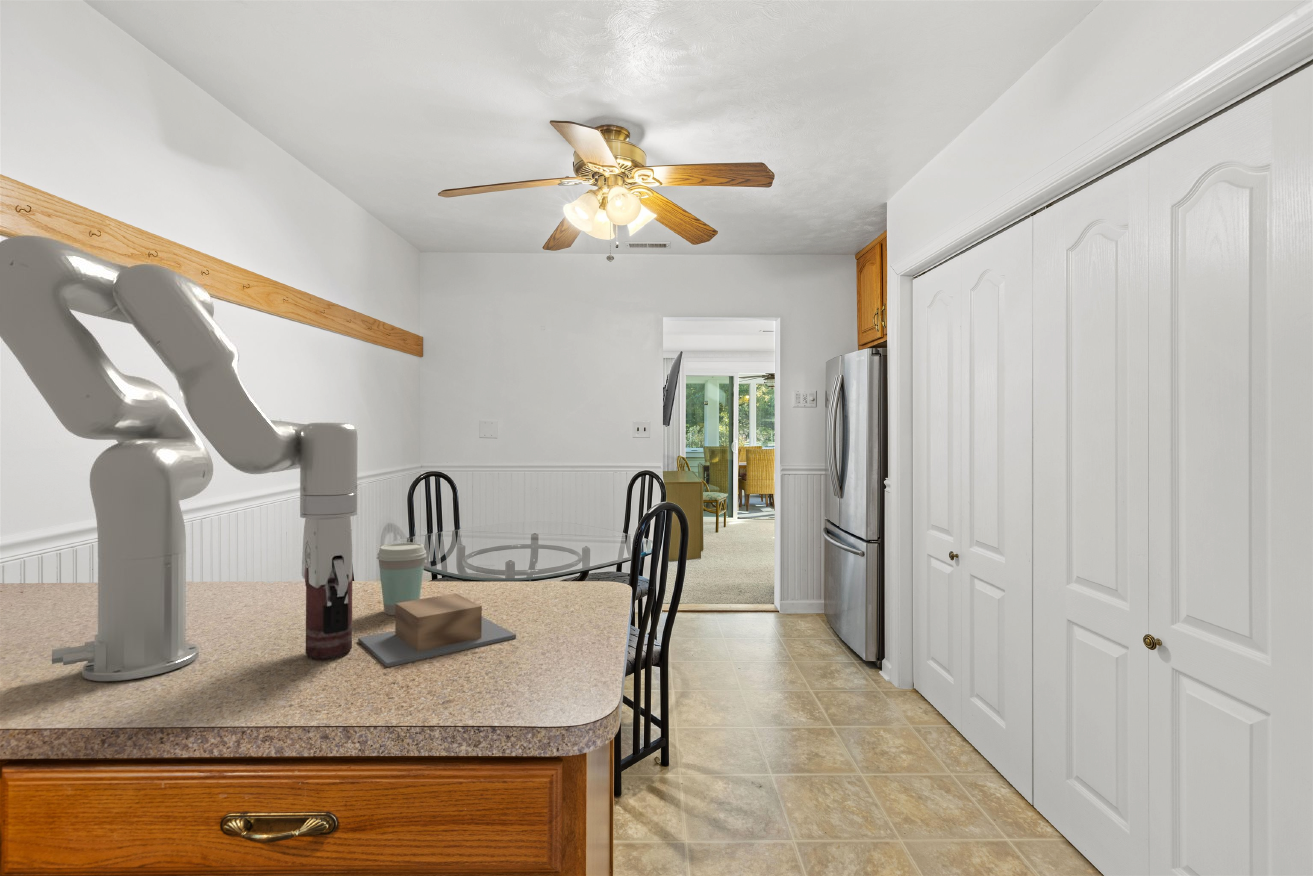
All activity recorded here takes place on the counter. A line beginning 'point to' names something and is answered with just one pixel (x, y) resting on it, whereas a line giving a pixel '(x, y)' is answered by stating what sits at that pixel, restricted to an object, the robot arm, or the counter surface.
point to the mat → (399, 652)
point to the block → (438, 621)
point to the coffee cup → (400, 573)
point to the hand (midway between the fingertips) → (328, 624)
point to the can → (316, 640)
